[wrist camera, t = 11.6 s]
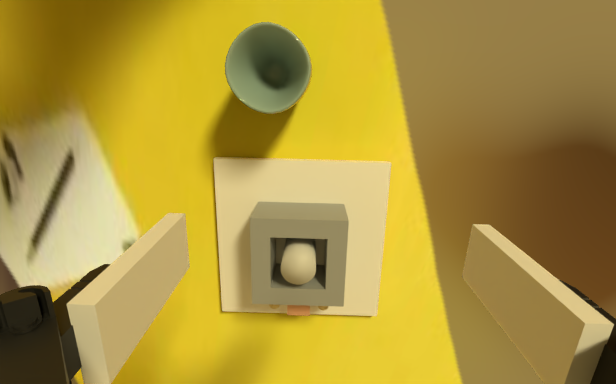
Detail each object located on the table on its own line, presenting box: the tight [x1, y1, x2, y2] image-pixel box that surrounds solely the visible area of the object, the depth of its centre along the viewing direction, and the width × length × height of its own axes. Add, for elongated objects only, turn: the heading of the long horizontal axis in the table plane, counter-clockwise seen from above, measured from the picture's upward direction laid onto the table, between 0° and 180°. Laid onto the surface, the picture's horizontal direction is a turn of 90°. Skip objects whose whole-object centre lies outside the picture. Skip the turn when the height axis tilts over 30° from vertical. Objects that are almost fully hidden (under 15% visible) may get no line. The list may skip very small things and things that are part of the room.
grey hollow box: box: [250, 202, 349, 316], centre depth 42 cm, size 15×11×6 cm
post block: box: [214, 157, 391, 316], centre depth 42 cm, size 22×22×8 cm
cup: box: [225, 22, 312, 114], centre depth 35 cm, size 8×8×10 cm
